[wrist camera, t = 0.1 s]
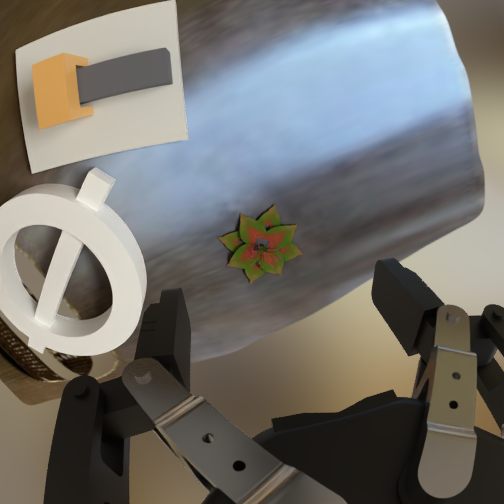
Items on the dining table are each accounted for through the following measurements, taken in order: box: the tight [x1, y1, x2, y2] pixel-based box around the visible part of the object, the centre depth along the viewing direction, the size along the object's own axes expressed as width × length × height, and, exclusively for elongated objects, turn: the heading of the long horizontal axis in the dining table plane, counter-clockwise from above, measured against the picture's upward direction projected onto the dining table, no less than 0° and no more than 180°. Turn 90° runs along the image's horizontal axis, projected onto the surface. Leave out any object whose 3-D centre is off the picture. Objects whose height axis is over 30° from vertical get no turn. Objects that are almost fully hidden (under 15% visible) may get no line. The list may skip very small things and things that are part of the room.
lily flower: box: [218, 205, 303, 283], centre depth 43 cm, size 12×12×5 cm
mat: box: [16, 0, 189, 174], centre depth 30 cm, size 18×22×2 cm
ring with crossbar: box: [0, 167, 147, 356], centre depth 40 cm, size 28×28×5 cm
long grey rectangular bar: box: [76, 47, 173, 105], centre depth 28 cm, size 4×14×4 cm, turn 94°
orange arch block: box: [32, 53, 94, 130], centre depth 26 cm, size 7×4×7 cm, turn 4°
